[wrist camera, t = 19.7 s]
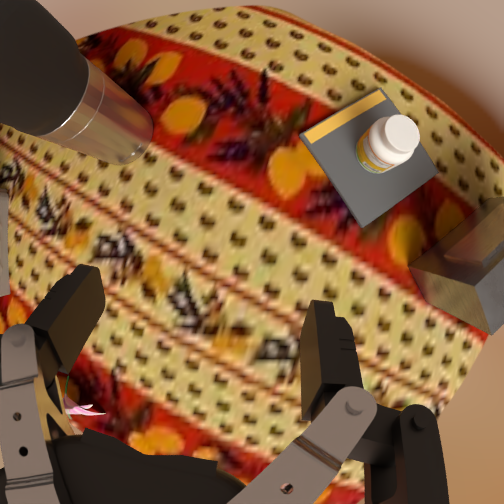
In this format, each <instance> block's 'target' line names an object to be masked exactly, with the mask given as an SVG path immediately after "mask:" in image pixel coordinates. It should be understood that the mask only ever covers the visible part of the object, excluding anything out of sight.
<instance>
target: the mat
mask: <svg viewBox="0 0 504 504" xmlns="http://www.w3.org/2000/svg"><path fill="white" fill-rule="evenodd" d="M393 115H401V114H400V112H399V111H398V109H397V108H396V107H395V105H394V104H393V103H392V101H391V100H390V99H389V97H388V96H387V95H386V94H385V92H384V91H383V90H382V88H379V89H377V90H375V91H373V92H372V93H370V94H368V95H366V96H364V97H363V98H361V99H359V100H357V101H356V102H354V103H352V104H350V105H349V106H347V107H345V108H343V109H342V110H340V111H338V112H336V113H335V114H333V115H331V116H330V117H328V118H326V119H325V120H323V121H321V122H320V123H318V124H316V125H315V126H313V127H311V128H310V129H308V130H306V131H305V132H303V133H301V134H300V135H299V137H300V139H301V140H302V142H303V143H304V144H305V146H306V147H307V148H308V150H309V151H310V153H311V154H312V155H313V157H314V158H315V160H316V161H317V162H318V164H319V165H320V167H321V168H322V170H323V171H324V172H325V174H326V175H327V177H328V178H329V180H330V181H331V183H332V184H333V186H334V187H335V189H336V190H337V192H338V193H339V195H340V196H341V198H342V199H343V201H344V202H345V204H346V205H347V207H348V208H349V210H350V212H351V213H352V215H353V216H354V218H355V219H356V221H357V223H358V224H359V226H360V227H361V228H363V227H364V226H366V225H367V224H369V223H370V222H371V221H373V220H374V219H376V218H377V217H379V216H380V215H381V214H383V213H384V212H386V211H387V210H388V209H390V208H391V207H393V206H394V205H395V204H397V203H398V202H399V201H401V200H402V199H404V198H405V197H406V196H408V195H409V194H410V193H412V192H413V191H415V190H416V189H417V188H419V187H420V186H421V185H423V184H424V183H425V182H427V181H428V180H429V179H431V178H432V177H434V176H435V175H436V174H438V173H439V172H438V170H437V169H436V167H435V165H434V164H433V162H432V160H431V159H430V157H429V156H428V154H427V152H426V151H425V149H424V148H423V146H422V144H421V143H420V141H419V143H418V145H417V147H416V148H415V149H414V152H413V154H412V156H411V157H410V158H409V159H408V160H407V161H405V162H404V163H402V164H400V165H398V166H396V167H394V168H392V169H390V170H388V171H386V172H384V173H372V172H369V171H367V170H366V169H365V168H363V167H362V166H361V164H360V163H359V161H358V159H357V156H356V145H357V142H358V140H359V139H360V138H361V136H362V135H363V134H364V133H365V132H366V131H367V130H368V129H369V128H370V127H371V126H372V125H373V124H374V123H375V122H376V121H377V120H378V119H380V118H383V117H391V116H393Z"/></svg>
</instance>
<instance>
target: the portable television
mask: <svg viewBox="0 0 504 504" xmlns="http://www.w3.org/2000/svg"><path fill="white" fill-rule="evenodd" d="M8 205H9V197H8V194H7V189H0V297H1V296H5V295H8V294H10V285H9V270H8Z"/></svg>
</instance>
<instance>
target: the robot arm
mask: <svg viewBox="0 0 504 504" xmlns="http://www.w3.org/2000/svg"><path fill="white" fill-rule="evenodd" d="M0 123H3V124H6V125H9V126H12V127H14V128H15V129H16V130H18V131H21V132H24V133H27V134H30V135H33V136H36V137H39V138H41V139H44V140H47V141H50V142H53V143H56V144H59V145H61V146H64V147H67V148H70V149H73V150H75V151H78V152H81V153H84V154H86V155H89V156H92V157H94V158H97V159H100V160H102V161H105V162H108V163H111V164H114V165H124V164H128V163H130V162H133V161H134V160H136V159H137V158H138V157H140V156H141V155H142V154H143V153H144V151H145V150H146V148H147V147H148V145H149V143H150V141H151V138H152V134H153V122H152V119H151V116H150V115H149V113H148V112H147V111H146V110H145V109H144V108H143V107H142V106H141V105H140V104H139V103H137V102H136V101H135V100H134V99H133V98H132V97H131V96H130V95H129V94H127V93H126V92H125V91H124V90H123V89H122V88H121V87H119V86H118V85H117V84H116V83H115V82H114V81H112V80H111V79H110V78H109V77H108V76H107V75H105V74H104V73H103V72H102V71H101V70H100V69H98V68H97V67H96V66H95V65H94V64H92V63H91V62H90V61H89V60H88V59H86V58H85V57H84V56H83V55H82V54H81V53H79V49H78V46H77V43H76V41H75V39H74V38H73V36H72V35H71V34H70V33H69V32H68V31H67V30H66V29H65V28H64V27H63V26H62V25H61V24H60V23H59V22H58V21H57V20H56V19H55V18H54V17H53V16H52V15H51V14H50V13H49V12H48V11H47V10H46V9H45V8H44V7H43V6H42V5H41V4H40V3H38V2H37V1H36V0H0ZM104 308H105V294H104V289H103V285H102V280H101V275H100V270H99V268H98V267H94V266H89V265H84V264H79V265H78V266H77V267H76V268H75V270H74V271H73V272H72V273H71V274H70V275H68V274H67V275H66V276H64V277H63V278H61V279H60V280H58V281H57V282H56V283H55V285H54V286H53V287H52V288H51V290H50V292H48V293H47V295H46V296H45V299H43V300H42V301H41V302H40V304H39V305H38V306H37V308H36V309H35V310H34V312H33V313H32V314H31V316H30V317H29V318H28V320H27V321H26V322H25V324H16V325H14V326H12V327H10V328H9V329H7V330H6V332H5V333H4V334H0V445H1V451H2V456H3V462H4V468H2V469H0V504H313V503H314V502H315V501H316V499H317V498H318V497H319V496H320V495H321V494H322V492H323V491H324V490H325V489H326V487H327V486H328V485H329V484H330V482H331V481H332V480H333V479H334V477H335V476H336V475H337V473H338V472H339V470H340V469H341V465H342V464H343V462H344V461H345V459H346V458H349V459H353V460H356V461H360V462H364V478H365V504H449V495H448V486H447V479H446V471H445V464H444V458H443V452H442V446H441V441H440V435H439V430H438V425H437V420H436V418H435V415H434V414H433V413H432V411H431V410H429V409H428V408H427V407H425V406H423V405H419V404H413V405H409V406H407V407H406V408H405V409H404V410H403V411H398V410H395V409H391V408H388V407H384V406H381V405H379V404H377V403H376V401H375V399H374V398H373V396H372V395H371V394H370V393H369V392H368V391H366V390H364V388H363V383H362V378H361V372H360V367H359V361H358V356H357V352H356V346H355V342H354V336H353V332H352V328H351V326H350V325H349V324H348V322H347V321H346V319H345V318H344V317H335V311H334V306H333V303H332V302H328V301H319V300H311V302H310V305H309V308H308V311H307V315H306V318H305V321H304V324H303V327H302V331H301V336H300V366H301V406H302V420H309V421H311V424H310V425H309V427H308V428H307V429H306V430H305V431H304V432H303V433H302V434H301V435H300V436H299V437H297V438H296V439H295V440H293V441H292V442H291V443H290V444H289V445H288V446H287V447H286V449H285V450H284V451H283V452H282V453H281V454H280V455H279V456H278V457H277V458H276V459H275V460H274V461H273V462H272V463H271V464H270V465H269V466H268V467H267V468H266V469H264V470H263V471H262V472H261V473H260V474H259V475H258V476H257V477H256V478H255V479H254V480H253V481H252V482H251V483H250V484H248V485H247V486H246V485H245V484H244V483H243V482H241V481H240V480H239V479H237V478H236V477H234V476H233V475H231V474H229V473H227V472H225V471H223V470H220V469H218V468H217V464H218V461H212V460H206V459H200V458H194V457H189V456H184V455H145V454H143V453H141V452H139V451H137V450H135V449H133V448H132V447H130V446H128V445H126V444H125V443H123V442H121V441H119V440H118V439H116V438H114V437H111V436H108V435H105V434H102V433H99V432H96V431H94V430H91V429H88V428H85V430H84V432H83V435H75V434H74V432H73V430H72V428H71V426H70V424H69V421H68V418H67V415H66V411H65V407H64V403H63V399H62V394H61V390H60V385H59V380H58V378H57V376H56V374H57V372H58V371H60V372H63V373H66V374H69V372H70V370H71V369H72V367H73V365H74V363H75V361H76V359H77V357H78V355H79V354H80V352H81V350H82V348H83V346H84V345H85V343H86V341H87V339H88V337H89V336H90V334H91V332H92V330H93V329H94V327H95V325H96V324H97V322H98V320H99V318H100V317H101V315H102V313H103V311H104Z"/></svg>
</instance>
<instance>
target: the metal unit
mask: <svg viewBox="0 0 504 504" xmlns="http://www.w3.org/2000/svg"><path fill="white" fill-rule="evenodd" d="M408 268H409V270H410V271H411V273H412V275H413V277H414V279H415V281H416V283H417V285H418V287H419V289H420V291H421V293H422V295H423V297H424V299H425V301H426V302H428V303H430V304H432V305H434V306H436V307H438V308H440V309H442V310H444V311H446V312H447V313H449V314H451V315H453V316H455V317H457V318H459V319H461V320H463V321H465V322H467V323H469V324H471V325H473V326H474V327H476V328H478V329H480V330H482V331H484V332H486V333H488V334H490V335H493V334H494V333H495V332H496V331H497V330H498V329H499V328H500V327H501V326H502V325H503V324H504V197H496V198H488V199H487V200H486V201H485V202H484V203H483V204H482V205H481V206H480V207H479V208H477V209H476V210H475V211H474V212H473V213H472V214H471V215H470V216H468V217H467V218H466V219H465V220H464V221H463V222H461V223H460V224H459V225H458V226H457V227H456V228H454V229H453V230H452V231H451V232H450V233H448V234H447V235H446V236H445V237H444V238H442V239H441V240H440V241H439V242H438V243H436V244H435V245H434V246H433V247H431V248H430V249H429V250H428V251H426V252H425V253H424V254H423V255H421V256H420V257H419V258H417V259H416V260H415V261H414V262H412V263H411V264H410V265H408Z"/></svg>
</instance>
